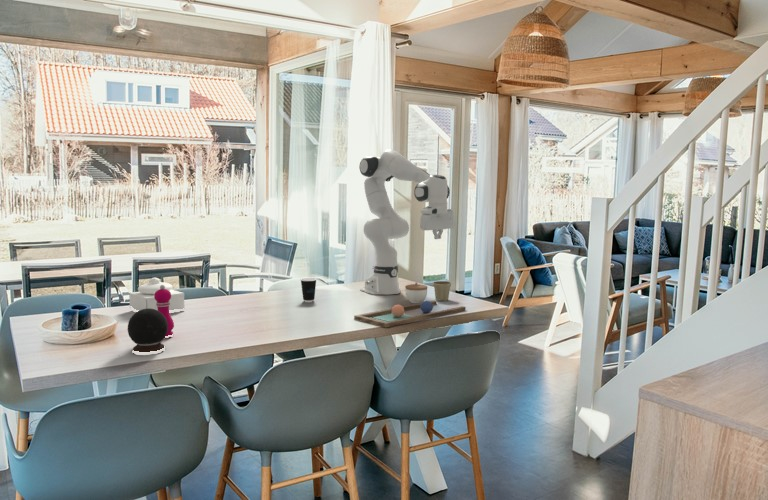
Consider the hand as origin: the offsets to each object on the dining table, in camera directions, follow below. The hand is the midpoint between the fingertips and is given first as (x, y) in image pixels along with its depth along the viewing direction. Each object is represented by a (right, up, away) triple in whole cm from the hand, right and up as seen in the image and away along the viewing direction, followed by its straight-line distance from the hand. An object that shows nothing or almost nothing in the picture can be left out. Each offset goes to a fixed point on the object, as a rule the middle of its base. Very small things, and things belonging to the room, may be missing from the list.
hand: (437, 239), depth 299 cm
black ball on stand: (-107, -41, -78) cm, 139 cm away
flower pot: (+3, -30, +13) cm, 33 cm away
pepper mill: (-108, -38, -59) cm, 130 cm away
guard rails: (-12, -34, -20) cm, 41 cm away
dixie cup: (-62, -30, +9) cm, 70 cm away
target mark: (-21, -35, -27) cm, 48 cm away
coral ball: (-19, -32, -26) cm, 45 cm away
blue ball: (-6, -31, -17) cm, 36 cm away
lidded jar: (-10, -31, +8) cm, 33 cm away
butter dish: (-127, -33, -14) cm, 132 cm away
